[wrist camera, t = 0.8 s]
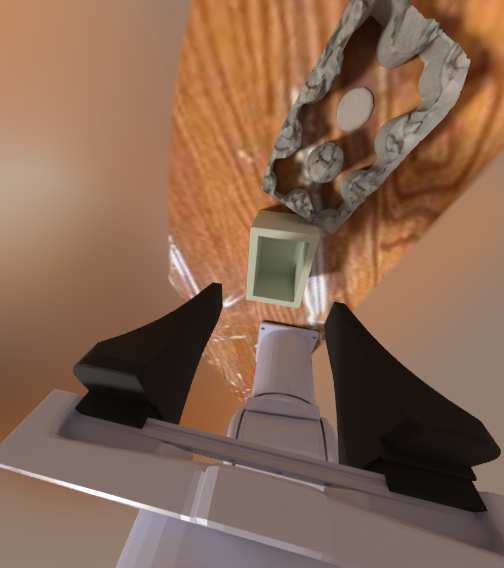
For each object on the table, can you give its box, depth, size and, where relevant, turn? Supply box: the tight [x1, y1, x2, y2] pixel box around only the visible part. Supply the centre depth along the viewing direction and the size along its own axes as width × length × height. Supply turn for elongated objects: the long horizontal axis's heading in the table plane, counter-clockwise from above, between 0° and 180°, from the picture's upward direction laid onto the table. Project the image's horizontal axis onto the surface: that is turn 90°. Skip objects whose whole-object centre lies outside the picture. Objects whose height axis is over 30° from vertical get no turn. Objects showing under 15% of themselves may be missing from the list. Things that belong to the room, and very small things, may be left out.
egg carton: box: [261, 0, 470, 234], centre depth 12 cm, size 11×8×4 cm
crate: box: [246, 210, 321, 308], centre depth 17 cm, size 7×5×5 cm
